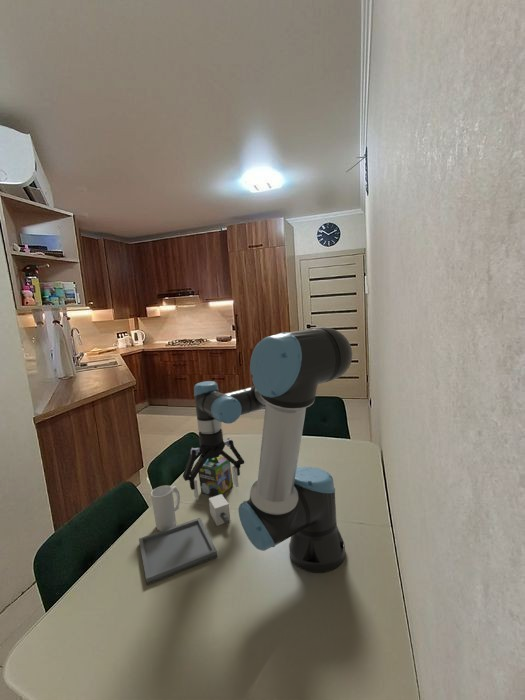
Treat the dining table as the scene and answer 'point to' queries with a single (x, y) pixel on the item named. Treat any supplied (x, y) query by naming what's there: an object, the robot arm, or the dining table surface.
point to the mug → (165, 506)
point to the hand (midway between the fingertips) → (216, 491)
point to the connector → (219, 509)
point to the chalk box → (215, 476)
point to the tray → (175, 550)
